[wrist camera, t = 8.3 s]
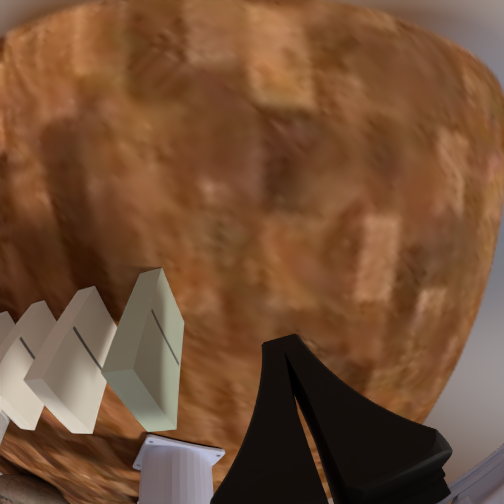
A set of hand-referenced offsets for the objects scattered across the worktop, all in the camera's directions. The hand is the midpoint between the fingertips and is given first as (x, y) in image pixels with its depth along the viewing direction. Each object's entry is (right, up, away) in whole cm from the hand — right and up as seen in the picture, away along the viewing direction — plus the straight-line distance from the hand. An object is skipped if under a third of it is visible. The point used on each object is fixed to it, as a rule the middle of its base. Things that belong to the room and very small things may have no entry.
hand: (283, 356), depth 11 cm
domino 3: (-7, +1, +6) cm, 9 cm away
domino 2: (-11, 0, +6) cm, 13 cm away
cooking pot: (-42, -41, +19) cm, 61 cm away
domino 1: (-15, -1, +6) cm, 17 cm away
